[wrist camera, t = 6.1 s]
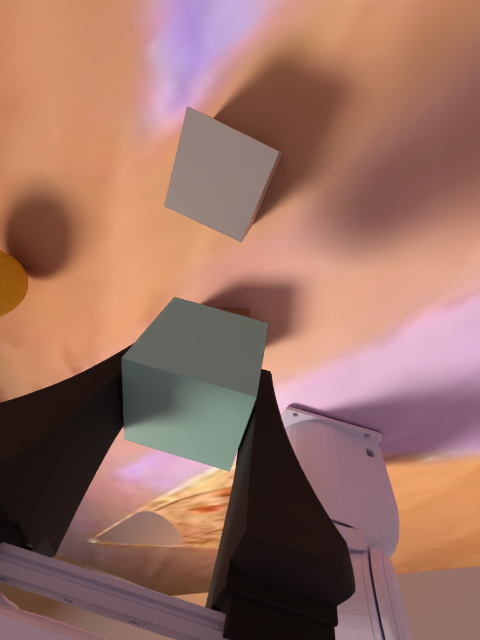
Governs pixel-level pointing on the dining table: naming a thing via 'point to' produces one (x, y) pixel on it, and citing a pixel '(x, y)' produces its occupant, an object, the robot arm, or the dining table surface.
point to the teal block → (193, 382)
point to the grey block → (220, 175)
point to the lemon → (11, 283)
